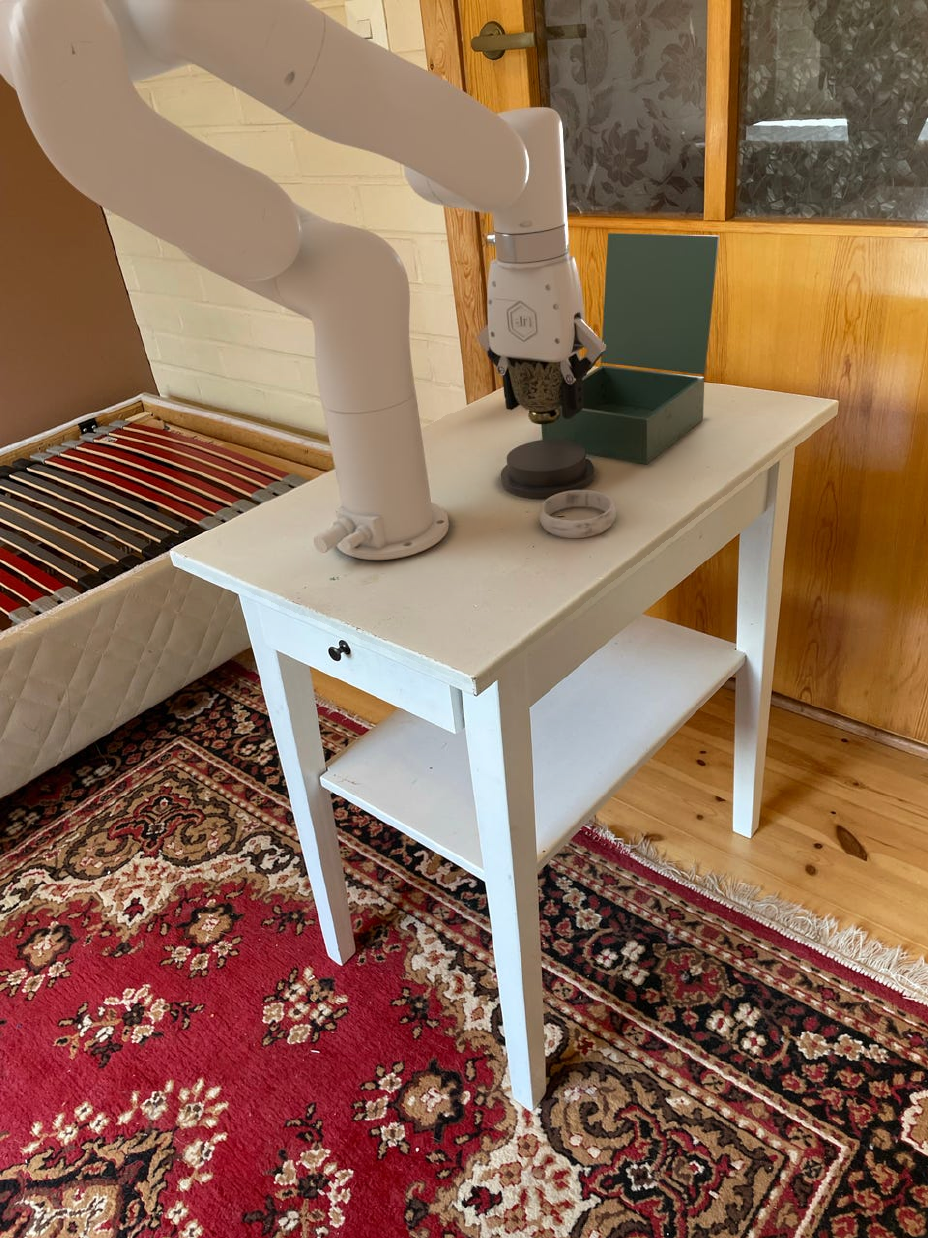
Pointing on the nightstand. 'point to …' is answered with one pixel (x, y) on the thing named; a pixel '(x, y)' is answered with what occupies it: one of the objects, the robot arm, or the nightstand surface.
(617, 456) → the tin
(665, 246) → the tin lid
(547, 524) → the ring
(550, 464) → the stand
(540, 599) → the nightstand surface
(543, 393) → the cup
